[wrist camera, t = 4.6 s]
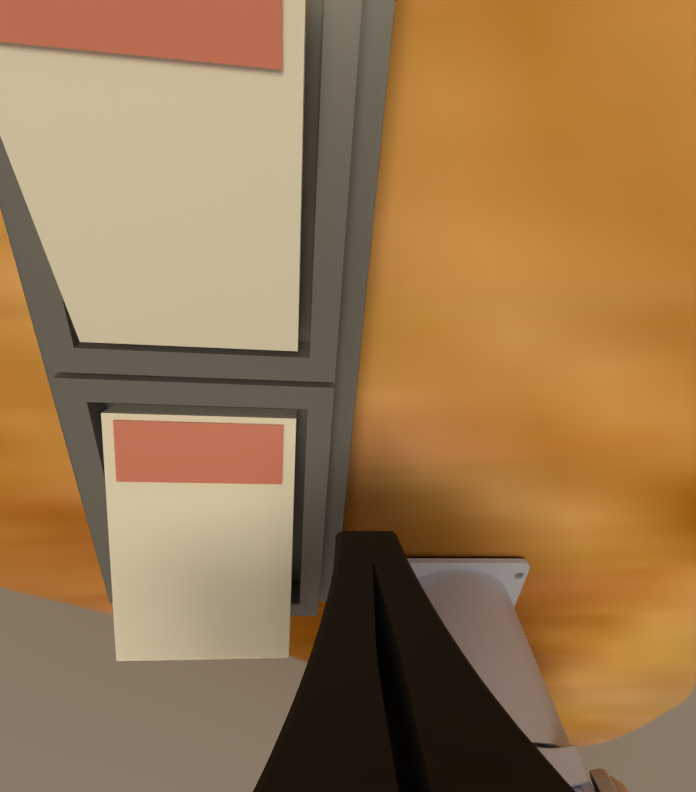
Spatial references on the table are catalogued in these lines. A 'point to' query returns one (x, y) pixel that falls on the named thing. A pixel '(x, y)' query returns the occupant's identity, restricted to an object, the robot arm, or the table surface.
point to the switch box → (247, 368)
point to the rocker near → (162, 163)
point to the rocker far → (200, 530)
